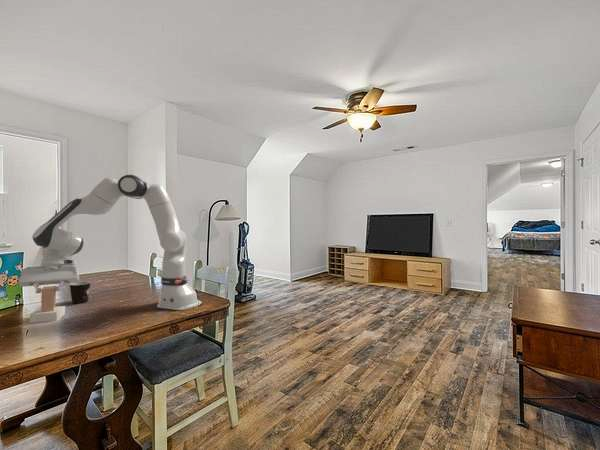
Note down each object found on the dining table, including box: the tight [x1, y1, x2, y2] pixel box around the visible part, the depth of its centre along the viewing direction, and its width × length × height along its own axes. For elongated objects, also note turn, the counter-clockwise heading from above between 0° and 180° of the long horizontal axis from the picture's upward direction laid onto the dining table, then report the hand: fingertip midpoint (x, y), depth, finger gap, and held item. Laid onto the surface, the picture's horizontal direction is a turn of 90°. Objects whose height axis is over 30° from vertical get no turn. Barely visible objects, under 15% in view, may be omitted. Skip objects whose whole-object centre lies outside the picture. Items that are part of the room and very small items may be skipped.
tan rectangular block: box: [40, 285, 57, 312], centre depth 122 cm, size 4×4×10 cm
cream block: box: [29, 305, 66, 324], centre depth 122 cm, size 9×9×4 cm
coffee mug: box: [68, 280, 91, 305], centre depth 146 cm, size 12×9×10 cm
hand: (48, 291), depth 121 cm, fingers open, 5 cm apart
